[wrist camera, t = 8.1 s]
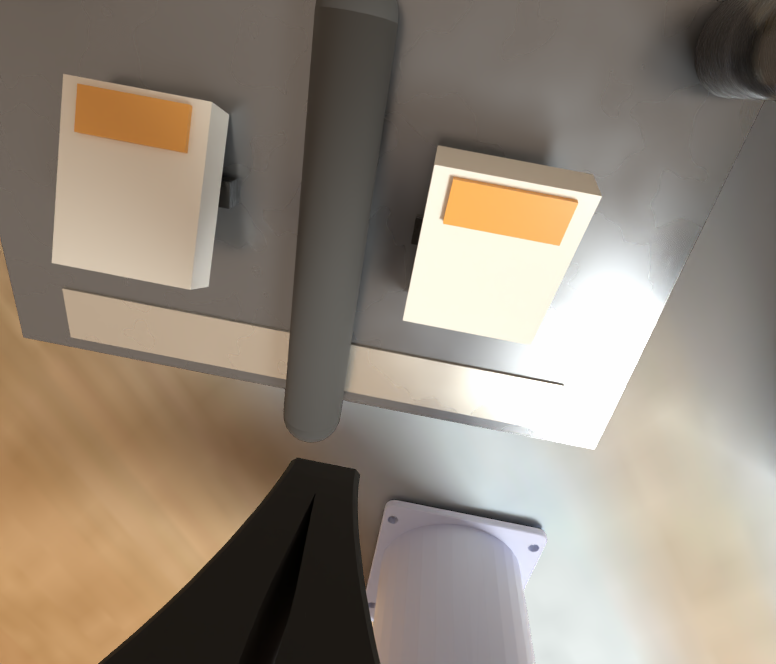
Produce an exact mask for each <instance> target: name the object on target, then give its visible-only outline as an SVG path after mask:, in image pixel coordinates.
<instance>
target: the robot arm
mask: <svg viewBox="0 0 776 664" xmlns="http://www.w3.org/2000/svg"><path fill="white" fill-rule="evenodd" d="M359 478H360V474H359V473H358V472H357V470H356V469H351V468H346V467H341V466H336V465H331V464H326V463H321V462H316V461H311V460H306V459H301V458H296V459H294V460H293V461H291V463H290V464H289V466H288V467H287V469H286V470H285V472H284V473H283V475H282V476H281V478H280V479H279V480H278V482H277V483H276V484H275V486H274V487H273V488H272V490H271V491H270V492H269V494H268V495H267V496H266V497H265V499H264V500H263V501H262V502H261V504H260V505H259V506H258V507H257V508H256V510H255V511H254V512H253V513H252V514H251V515H250V517H249V518H248V519H247V520H246V521H245V522H244V524H243V525H242V526H241V527H240V528H239V529H238V530H237V532H236V533H235V534H234V535H233V536H232V537H231V539H230V540H229V541H228V542H227V543H226V544H225V545H224V546H223V547H222V548H221V549H220V550H219V551H218V552H217V553H216V555H215V556H214V557H213V558H212V559H211V560H210V561H209V562H208V563H207V564H206V565H205V566H204V567H203V568H202V569H201V570H200V571H199V572H198V573H197V574H196V575H195V576H194V577H193V578H192V579H191V580H190V581H189V582H188V583H187V584H186V585H185V586H184V587H183V588H182V589H181V590H180V591H179V592H178V593H177V594H176V595H175V596H174V597H173V598H172V599H171V600H170V601H169V602H168V603H167V604H166V605H164V606H163V607H162V608H161V609H160V610H159V611H158V612H157V613H156V614H155V615H154V616H152V617H151V618H150V619H149V620H148V621H147V622H146V623H145V624H144V625H143V626H142V627H140V628H139V629H138V630H137V631H136V632H135V633H134V634H133V635H131V636H130V637H129V638H128V639H127V640H125V641H124V642H123V643H122V644H121V645H120V646H118V647H117V648H116V649H115V650H114V651H113V652H111V653H110V654H109V655H108V656H107V657H106V658H104V659H103V660H102V661H101V662H100V663H98V664H536V663H535V657H534V651H533V644H532V638H531V632H530V626H529V619H528V613H527V607H526V600H525V594H524V589H525V587H526V585H527V582H528V580H529V578H530V576H531V574H532V572H533V570H534V568H535V566H536V564H537V562H538V560H539V558H540V556H541V554H542V551H543V549H544V547H545V545H546V543H547V536H546V533H545V532H544V531H543V530H542V529H539V528H534V527H529V526H524V525H519V524H514V523H509V522H504V521H499V520H494V519H489V518H484V517H479V516H474V515H469V514H464V513H459V512H454V511H449V510H444V509H439V508H434V507H429V506H424V505H419V504H414V503H409V502H404V501H399V500H391V501H389V502H387V503H386V505H385V509H384V513H383V518H382V522H381V526H380V531H379V535H378V540H377V544H376V548H375V553H374V557H373V561H372V566H371V570H370V575H369V579H368V583H367V588H365V582H364V575H363V567H362V559H361V550H360V541H359V529H358V484H359ZM391 516H394V517H391ZM532 544H533V545H532ZM371 621H373V627H372V622H371Z"/></svg>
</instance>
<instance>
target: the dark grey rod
mask: <svg viewBox="0 0 776 664" xmlns="http://www.w3.org/2000/svg"><path fill="white" fill-rule="evenodd" d="M397 28H398V5H397V1H396V0H316V4H315V12H314V25H313V38H312V51H311V64H310V77H309V90H308V103H307V116H306V129H305V142H304V155H303V168H302V181H301V194H300V207H299V219H298V232H297V245H296V258H295V271H294V284H293V297H292V310H291V323H290V336H289V349H288V362H287V375H286V388H285V401H284V421H285V424H286V427H287V429H288V430H289V432H290V433H291V434H292V435H293V436H294V437H296V438H297V439H299V440H301V441H305V442H318V441H321V440H323V439H325V438H327V437H329V436H330V435H331V434H332V433H333V432H334V431H335V429H336V427H337V425H338V423H339V420H340V415H341V408H342V401H343V395H344V388H345V381H346V374H347V367H348V361H349V354H350V347H351V340H352V333H353V327H354V320H355V313H356V306H357V299H358V293H359V286H360V279H361V272H362V266H363V259H364V252H365V245H366V238H367V232H368V225H369V218H370V211H371V204H372V198H373V191H374V184H375V177H376V170H377V164H378V157H379V150H380V143H381V137H382V130H383V123H384V116H385V109H386V103H387V96H388V89H389V82H390V75H391V69H392V62H393V55H394V48H395V41H396V35H397Z"/></svg>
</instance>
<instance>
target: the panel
mask: <svg viewBox="0 0 776 664" xmlns="http://www.w3.org/2000/svg"><path fill="white" fill-rule="evenodd" d="M396 1H397V5H398V28H397V35H396V41H395V48H394V55H393V62H392V69H391V75H390V82H389V89H388V96H387V103H386V109H385V116H384V123H383V130H382V137H381V143H380V150H379V157H378V164H377V170H376V177H375V184H374V191H373V198H372V204H371V211H370V218H369V225H368V232H367V238H366V245H365V252H364V259H363V266H362V272H361V279H360V286H359V293H358V299H357V306H356V313H355V320H354V327H353V333H352V340H351V347H350V354H349V361H348V367H347V374H346V381H345V388H344V395H343V400H345V401H350V402H355V403H360V404H365V405H370V406H375V407H380V408H385V409H390V410H396V411H401V412H406V413H411V414H416V415H421V416H426V417H431V418H436V419H441V420H446V421H452V422H457V423H462V424H467V425H472V426H477V427H482V428H487V429H492V430H497V431H502V432H507V433H513V434H518V435H523V436H528V437H533V438H538V439H543V440H548V441H553V442H558V443H563V444H568V445H574V446H579V447H584V448H589V449H595V447H596V445H597V443H598V441H599V439H600V437H601V435H602V433H603V431H604V429H605V427H606V425H607V423H608V421H609V419H610V417H611V415H612V413H613V411H614V408H615V406H616V404H617V402H618V400H619V398H620V396H621V394H622V392H623V390H624V388H625V386H626V384H627V382H628V380H629V378H630V376H631V374H632V372H633V370H634V367H635V365H636V363H637V361H638V359H639V357H640V355H641V353H642V351H643V349H644V347H645V345H646V343H647V341H648V339H649V337H650V335H651V333H652V331H653V329H654V326H655V324H656V322H657V320H658V318H659V316H660V314H661V312H662V310H663V308H664V306H665V304H666V302H667V300H668V298H669V296H670V294H671V292H672V290H673V288H674V285H675V283H676V281H677V279H678V277H679V275H680V273H681V271H682V269H683V267H684V265H685V263H686V261H687V259H688V257H689V255H690V253H691V251H692V249H693V247H694V244H695V242H696V240H697V238H698V236H699V234H700V232H701V230H702V228H703V226H704V224H705V222H706V220H707V218H708V216H709V214H710V212H711V210H712V208H713V206H714V203H715V201H716V199H717V197H718V195H719V193H720V191H721V189H722V187H723V185H724V183H725V181H726V179H727V177H728V175H729V173H730V171H731V169H732V167H733V165H734V162H735V160H736V158H737V156H738V154H739V152H740V150H741V148H742V146H743V144H744V142H745V140H746V138H747V136H748V134H749V132H750V130H751V128H752V126H753V124H754V121H755V119H756V117H757V115H758V113H759V111H760V109H761V107H762V105H763V103H764V101H765V100H767V101H776V0H396ZM315 4H316V0H0V238H1V242H2V247H3V251H4V255H5V260H6V264H7V268H8V272H9V277H10V281H11V285H12V290H13V294H14V298H15V303H16V307H17V311H18V316H19V320H20V324H21V329H22V333H23V337H24V338H29V339H34V340H40V341H45V342H50V343H55V344H60V345H65V346H70V347H75V348H80V349H85V350H90V351H95V352H101V353H106V354H111V355H116V356H121V357H126V358H131V359H136V360H141V361H146V362H151V363H157V364H162V365H167V366H172V367H177V368H182V369H187V370H192V371H197V372H202V373H207V374H212V375H218V376H223V377H228V378H233V379H238V380H243V381H248V382H253V383H258V384H263V385H268V386H273V387H279V388H284V389H285V388H286V375H287V362H288V349H289V336H290V323H291V310H292V297H293V284H294V271H295V258H296V245H297V232H298V219H299V207H300V194H301V181H302V168H303V155H304V142H305V129H306V116H307V103H308V90H309V77H310V64H311V51H312V38H313V25H314V12H315ZM63 74H67V75H72V76H77V77H83V78H88V79H93V80H99V81H104V82H109V83H115V84H120V85H125V86H131V87H136V88H141V89H147V90H152V91H157V92H162V93H168V94H173V95H178V96H184V97H189V98H194V99H200V100H205V101H210V102H213V103H214V104H216V105H217V106H218V107H220V108H221V109H222V110H224V111H225V112H226V113H228V114H229V121H228V130H227V138H226V146H225V154H224V163H223V171H222V179H221V187H220V196H219V204H218V212H217V221H216V229H215V237H214V245H213V254H212V262H211V270H210V279H209V287H204V288H198V289H193V290H189V289H183V288H178V287H173V286H168V285H163V284H158V283H153V282H147V281H142V280H137V279H132V278H127V277H122V276H117V275H111V274H106V273H101V272H96V271H91V270H86V269H80V268H75V267H70V266H65V265H60V264H55V263H52V249H53V232H54V216H55V200H56V183H57V167H58V151H59V134H60V118H61V102H62V85H63ZM438 145H439V146H445V147H450V148H455V149H460V150H466V151H471V152H476V153H482V154H487V155H492V156H498V157H503V158H508V159H514V160H519V161H524V162H529V163H535V164H540V165H545V166H551V167H556V168H561V169H567V170H572V171H577V172H583V173H588V174H593V175H594V178H595V180H596V183H597V185H598V188H599V190H600V193H601V195H602V197H601V199H600V202H599V204H598V206H597V208H596V210H595V212H594V214H593V216H592V218H591V220H590V222H589V225H588V227H587V229H586V231H585V233H584V235H583V237H582V239H581V241H580V243H579V245H578V247H577V250H576V252H575V254H574V256H573V258H572V260H571V262H570V264H569V266H568V268H567V270H566V273H565V275H564V277H563V279H562V281H561V283H560V285H559V287H558V289H557V291H556V293H555V296H554V298H553V300H552V302H551V304H550V306H549V308H548V310H547V312H546V314H545V316H544V319H543V321H542V323H541V325H540V327H539V329H538V331H537V333H536V335H535V337H534V339H533V342H532V344H531V345H527V344H522V343H516V342H511V341H506V340H501V339H496V338H491V337H485V336H480V335H475V334H470V333H465V332H460V331H454V330H449V329H444V328H439V327H434V326H429V325H423V324H418V323H413V322H408V321H403V315H404V310H405V304H406V299H407V294H408V289H409V284H410V279H411V274H412V269H413V264H414V259H415V254H416V250H417V245H418V240H419V235H420V230H421V225H422V220H423V215H424V210H425V205H426V201H427V196H428V191H429V186H430V181H431V176H432V171H433V166H434V161H435V156H436V152H437V147H438Z"/></svg>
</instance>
